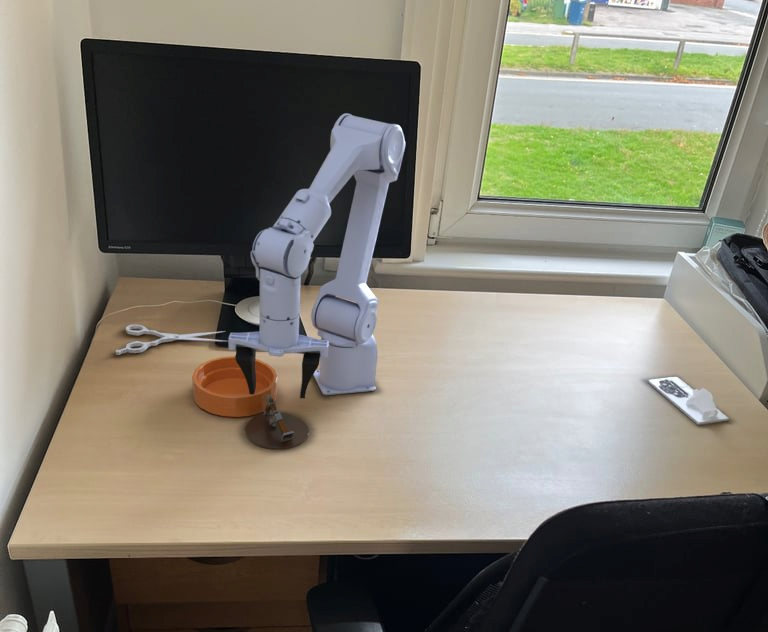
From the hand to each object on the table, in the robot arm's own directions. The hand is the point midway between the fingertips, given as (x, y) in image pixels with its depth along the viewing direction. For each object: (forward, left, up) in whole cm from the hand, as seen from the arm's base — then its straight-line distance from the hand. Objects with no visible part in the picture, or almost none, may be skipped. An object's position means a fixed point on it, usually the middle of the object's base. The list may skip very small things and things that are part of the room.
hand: (277, 393), depth 126 cm
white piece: (-75, +4, -7) cm, 75 cm away
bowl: (+5, -11, -7) cm, 14 cm away
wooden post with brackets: (0, 0, -7) cm, 7 cm away
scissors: (+12, -33, -7) cm, 36 cm away
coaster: (0, 0, -7) cm, 7 cm away
